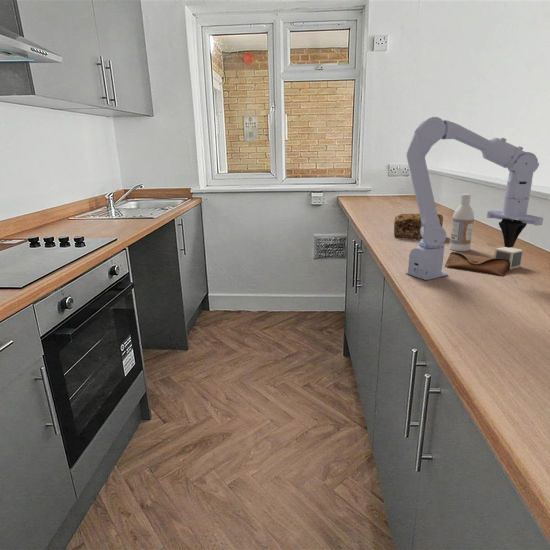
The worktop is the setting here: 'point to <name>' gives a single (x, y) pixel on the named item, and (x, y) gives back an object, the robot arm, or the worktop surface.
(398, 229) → the bread
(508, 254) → the cube
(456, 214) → the bath foam
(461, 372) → the worktop surface
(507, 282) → the worktop surface
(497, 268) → the sunglasses case
